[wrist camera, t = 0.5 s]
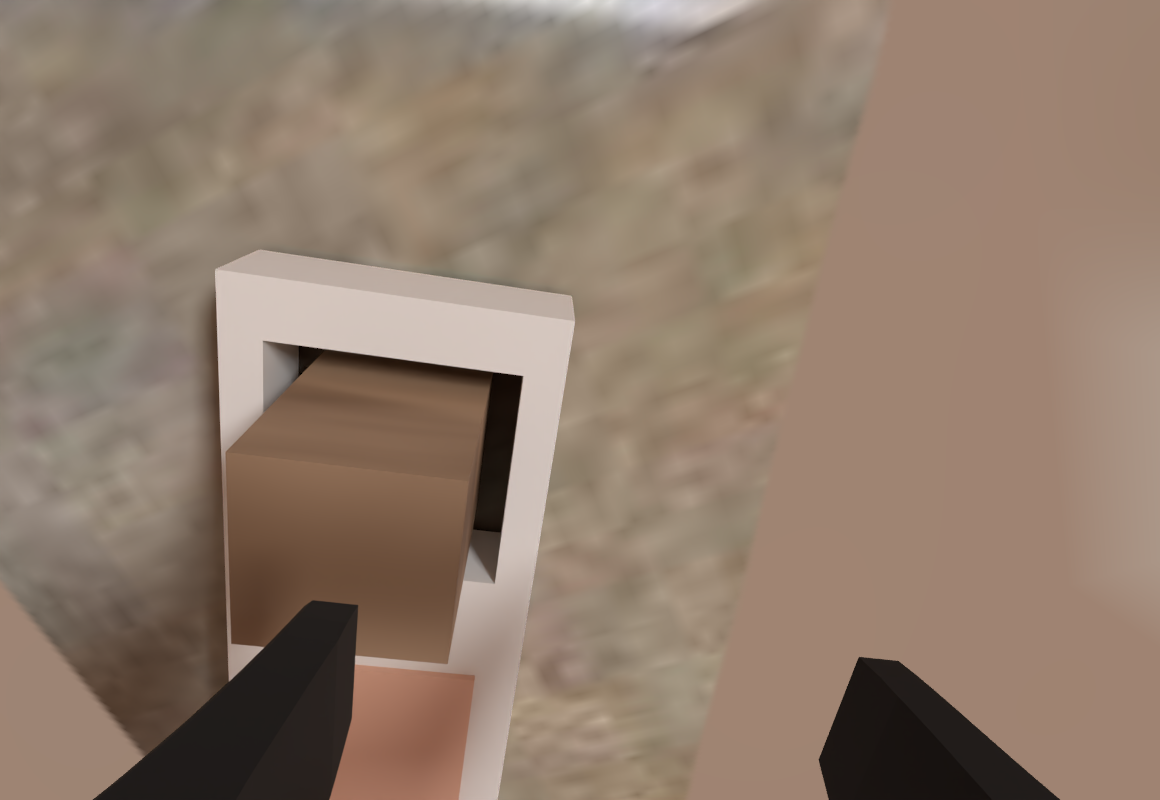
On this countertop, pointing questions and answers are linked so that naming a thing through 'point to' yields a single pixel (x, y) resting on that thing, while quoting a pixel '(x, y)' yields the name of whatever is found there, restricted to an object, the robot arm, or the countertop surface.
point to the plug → (359, 502)
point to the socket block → (495, 560)
